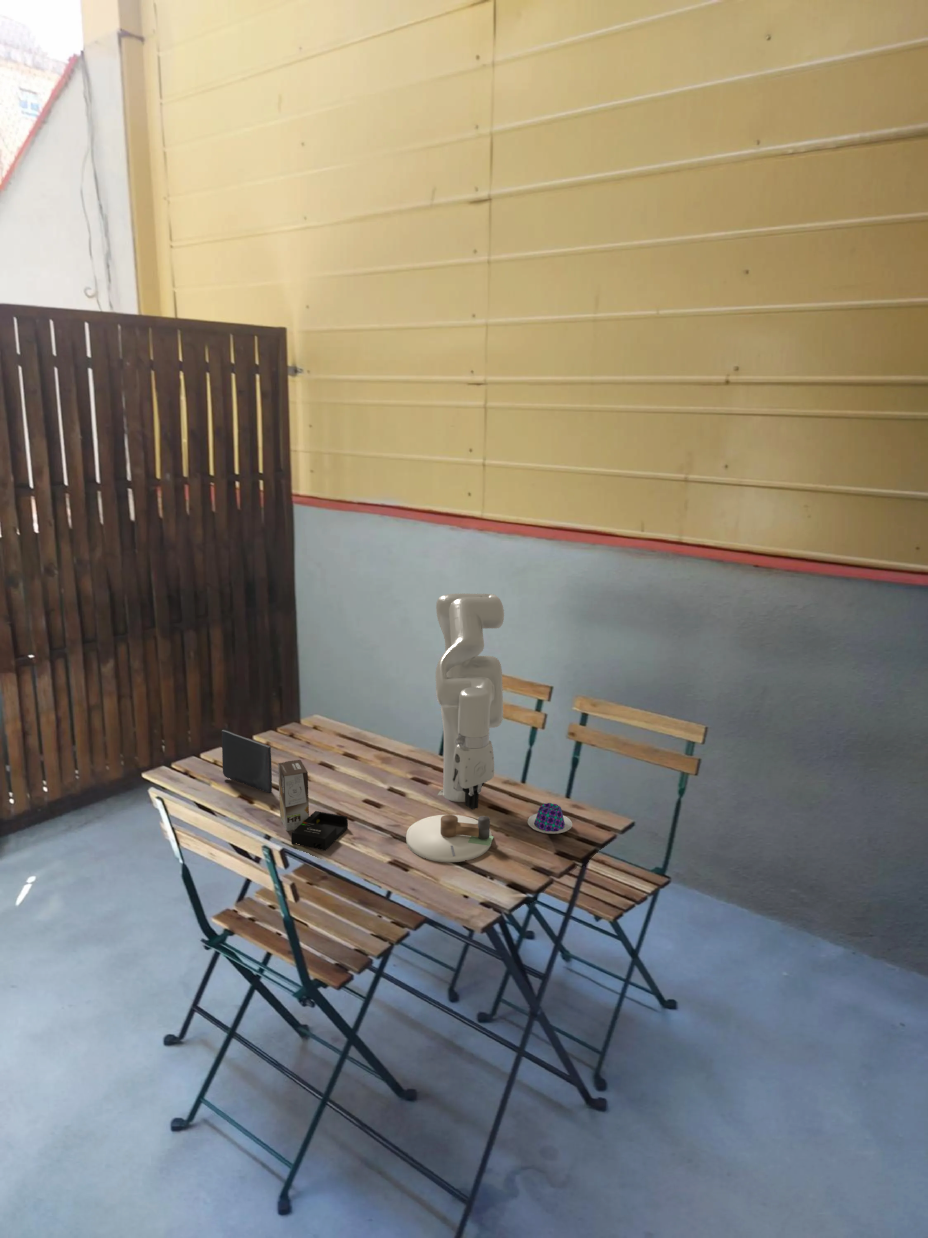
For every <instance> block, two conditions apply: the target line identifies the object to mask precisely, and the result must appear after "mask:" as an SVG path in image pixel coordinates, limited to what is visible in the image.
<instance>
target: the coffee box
mask: <svg viewBox="0 0 928 1238" xmlns="http://www.w3.org/2000/svg"><path fill="white" fill-rule="evenodd" d="M277 766H278V768H277V770H278V791H279V795H278V796H279V813H280V814H279V816H280V820H281V823H282V825H283V827H284V828H285V829H284V830H285V831H286V832H290V831H291V832H292V831H294V830H295V829H296V828H297V827H298V826H299V825H301V824H302V823H303V822H304V821H305V820H306V819H307V818H308V817H309V816H310V809H309V806H310V804H309V802H310V801H309V775H308V774H309V773H308V770H307V768H306V766H305V765H304V764H303V762H302V760H301V759H295V760H288V761H285V762H284V761H283V762H278V763H277Z"/></svg>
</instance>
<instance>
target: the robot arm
mask: <svg viewBox="0 0 928 1238" xmlns="http://www.w3.org/2000/svg"><path fill="white" fill-rule="evenodd" d="M435 609H436V616H437V621H438V624H439V627H440V629H441V630H440V631H441V632H442V635H443V639H444V645H445V646H444V647H445V649H444V650H445V651H444V652H443V654H442V655H441V657H440V658H439V660H438V662H437V665H436V668H435V692H436V693H435V694H436V695H435V696H436V700H437V702H438V704H439V705H440V714H441V720H442V721H441V722H442V729H443V773H442V774H443V775H442V776H443V778H442V779H443V783H442V785H443V786H442V788H443V789H441V790H440V791H439V792H437V793H438V794H437V796H442V797H444V799H446V800H448V801H449V802H450V801H451V802H456V803H464V805H465V806H466V807H467V808H469V809H470V810H477V809H478V808H479V794H481V791H482V789H483V787H484V786H483V785H484V784H485V783H486V782H489V781H491V780H493V778H494V777H495V756H494V748H493V744H492V743H493V742H492V741H491V740H490V729H495V728H498V727H499V726H501V725H502V723H503V717H504V694H503V693H504V691H503V690H504V689H503V670H502V665H501V661H500V660H499V659H498V657H496V656H493V655H480V654H481V653H482V652H483V651H484V649H485V641H484V632H483V631H484V630H483V629H499V628H501V627H502V626H503V624H504V618H505V612H504V611H505V610H504V605H503V603H502V600H501V599H500V598H499V596H497V595H496V594H494V593H447V594H443V595H440V596H439V597H438V598H437V601H436V605H435Z"/></svg>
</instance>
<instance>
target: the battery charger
mask: <svg viewBox="0 0 928 1238" xmlns="http://www.w3.org/2000/svg"><path fill="white" fill-rule="evenodd" d="M348 823H349V822H348V816H346V815H341V814H335V813H331V812H323V811H317V810H314V811H313V813H310V814H309V817H308V818H307V819H306V820H305V821H304V822H303V823H302V824H301V825H299V826H298V827H297V828H296V829H295V830H292V831H291V837H290V838H291V839H290V840H291V841H290V842H291V844H292V845H294V844H293V843H297V844H300V845H299V846H301V845H304V846H303V847H305V846H306V847H305V848H311V849H315V850H321V851H324V852H325V851H326V850H328V849H329V848H330V847H331V846H332V845H333V844H334V843H335V841H337V840H338V839H339V838H340V837H341V836H342V835H343V834H344V833H345V832H346V831H347V830H348V827H349V824H348Z"/></svg>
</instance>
